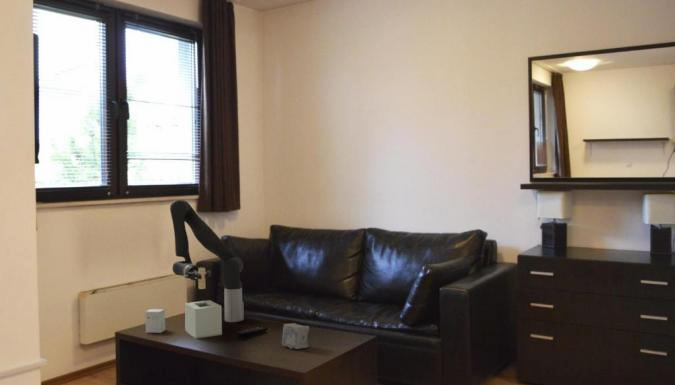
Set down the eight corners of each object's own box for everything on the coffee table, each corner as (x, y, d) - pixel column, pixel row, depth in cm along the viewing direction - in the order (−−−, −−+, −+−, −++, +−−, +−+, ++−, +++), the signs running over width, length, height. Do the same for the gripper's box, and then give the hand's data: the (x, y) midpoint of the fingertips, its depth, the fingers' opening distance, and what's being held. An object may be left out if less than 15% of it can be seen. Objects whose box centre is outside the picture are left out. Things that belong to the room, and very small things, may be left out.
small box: (165, 330, 301) (165, 309, 301) (161, 333, 295) (160, 311, 295) (150, 329, 302) (149, 308, 301) (145, 332, 296) (145, 311, 296)
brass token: (203, 287, 297) (203, 267, 296) (205, 288, 294) (205, 268, 294) (198, 288, 296) (198, 267, 295) (200, 289, 293) (200, 268, 293)
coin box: (210, 327, 305) (210, 300, 305) (221, 334, 291) (221, 306, 291) (185, 331, 298) (184, 303, 298) (195, 338, 285) (195, 309, 284)
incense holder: (309, 347, 270) (309, 324, 269) (297, 351, 263) (297, 328, 263) (293, 343, 276) (293, 321, 276) (281, 347, 269) (281, 324, 269)
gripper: (179, 265, 303) (189, 270, 288) (205, 263, 310) (217, 267, 296) (179, 280, 303) (189, 286, 289) (205, 277, 311) (217, 283, 296)
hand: (203, 276), depth 292 cm, fingers closed on brass token, 2 cm apart
